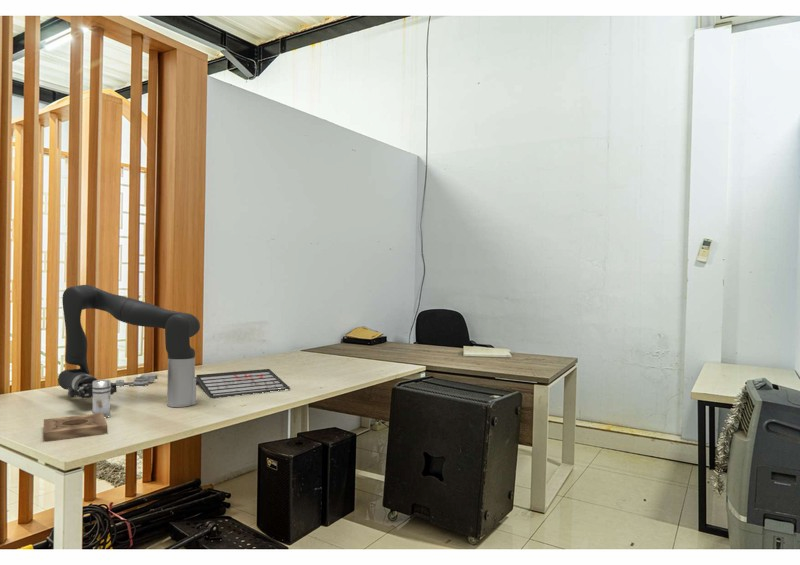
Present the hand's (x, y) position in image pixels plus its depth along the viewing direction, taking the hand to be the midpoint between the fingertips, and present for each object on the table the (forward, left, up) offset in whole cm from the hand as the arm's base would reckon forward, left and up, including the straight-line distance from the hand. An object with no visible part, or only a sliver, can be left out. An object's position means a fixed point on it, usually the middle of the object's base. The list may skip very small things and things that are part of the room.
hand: (98, 393), depth 183 cm
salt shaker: (-1, +4, -7) cm, 8 cm away
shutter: (-55, -21, -8) cm, 59 cm away
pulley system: (-17, -46, -8) cm, 50 cm away
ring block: (+7, +17, -7) cm, 20 cm away
